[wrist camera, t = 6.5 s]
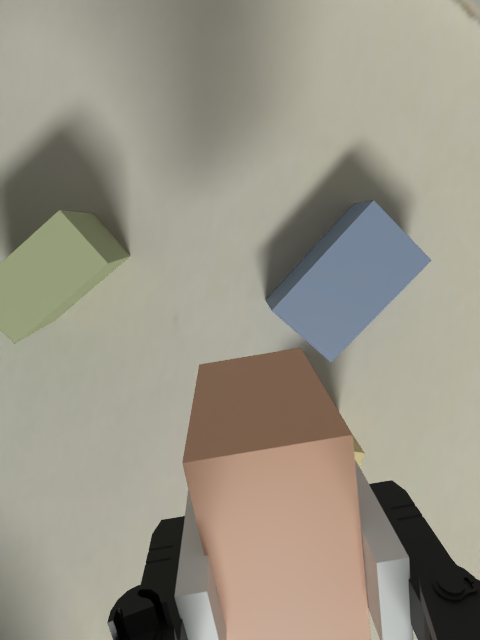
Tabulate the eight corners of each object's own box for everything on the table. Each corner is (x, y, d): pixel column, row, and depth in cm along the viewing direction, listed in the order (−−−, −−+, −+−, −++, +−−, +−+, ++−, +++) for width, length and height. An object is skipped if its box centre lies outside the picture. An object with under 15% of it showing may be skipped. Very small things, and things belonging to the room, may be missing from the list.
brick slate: (317, 345, 31) (330, 362, 27) (265, 299, 30) (271, 310, 26) (403, 256, 30) (431, 260, 26) (352, 203, 28) (373, 200, 24)
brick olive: (55, 320, 29) (14, 343, 23) (16, 281, 28) (-36, 295, 22) (130, 255, 28) (107, 263, 22) (93, 213, 27) (59, 209, 21)
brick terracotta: (321, 514, 16) (374, 674, 11) (233, 529, 16) (237, 696, 11) (300, 347, 14) (352, 434, 9) (199, 364, 14) (182, 463, 9)
